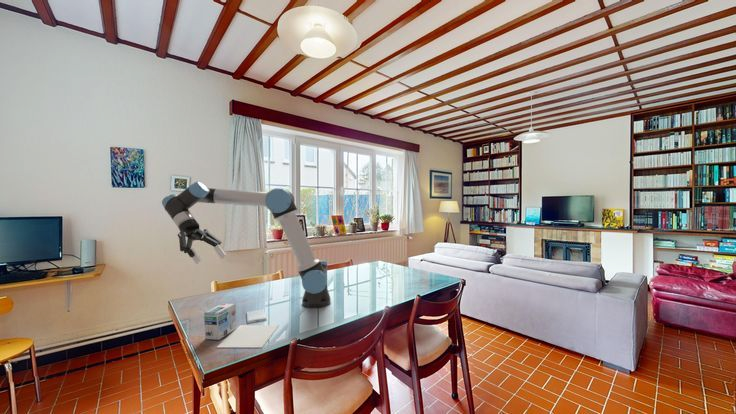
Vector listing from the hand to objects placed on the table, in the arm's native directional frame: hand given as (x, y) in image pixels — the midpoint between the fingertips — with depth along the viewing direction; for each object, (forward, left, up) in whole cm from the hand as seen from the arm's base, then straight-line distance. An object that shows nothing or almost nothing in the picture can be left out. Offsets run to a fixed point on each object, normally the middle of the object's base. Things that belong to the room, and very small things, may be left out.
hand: (212, 259), depth 123 cm
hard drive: (-16, -9, -30) cm, 35 cm away
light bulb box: (-9, +9, -29) cm, 32 cm away
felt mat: (-21, +10, -29) cm, 38 cm away
